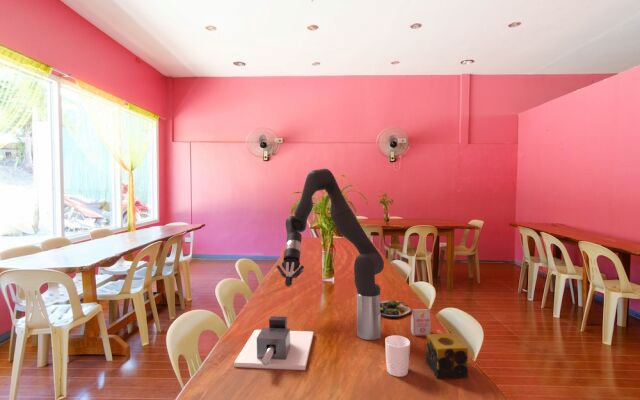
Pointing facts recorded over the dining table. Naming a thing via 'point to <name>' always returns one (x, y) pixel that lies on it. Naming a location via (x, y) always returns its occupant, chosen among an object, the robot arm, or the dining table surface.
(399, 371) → the white cup
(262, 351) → the block
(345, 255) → the dining table surface
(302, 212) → the robot arm
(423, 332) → the white cardboard box
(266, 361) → the shaft
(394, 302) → the salad plate
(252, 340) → the base board
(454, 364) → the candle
